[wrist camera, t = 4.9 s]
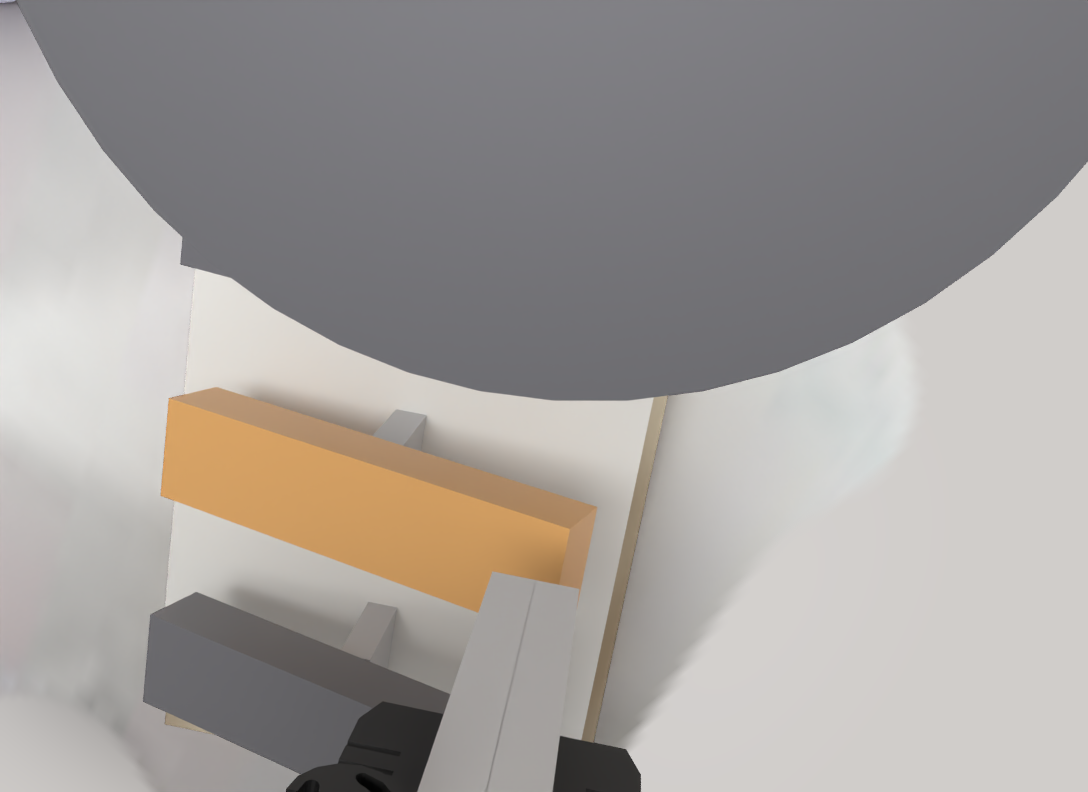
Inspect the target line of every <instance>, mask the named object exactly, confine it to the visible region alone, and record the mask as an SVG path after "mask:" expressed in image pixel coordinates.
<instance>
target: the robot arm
mask: <svg viewBox="0 0 1088 792" xmlns="http://www.w3.org/2000/svg"><path fill="white" fill-rule="evenodd" d="M578 595H579V589H577V588H572V587H567V586H562V585H557V584H552V583H547V582H542V581H538V580H533V579H528V578H523V577H518V576H513V575H508V574H503V573H498V572H493V571H492V574H491V577H490V580H489V583H488V586H487V589H486V592H485V595H484V598H483V601H482V603H481V606H480V609H479V612H478V615H477V618H476V621H475V624H474V627H473V630H472V633H471V636H470V639H469V642H468V645H467V647H466V650H465V653H464V656H463V659H462V662H461V665H460V668H459V671H458V674H457V677H456V680H455V683H454V686H453V688H452V691H451V694H450V697H449V700H448V703H447V706H446V709H445V712H444V714H441V713H436V712H431V711H427V710H422V709H417V708H412V707H408V706H403V705H398V704H393V703H388V702H384V701H382V702H381V703H380V704H378V705H377V706H375V707H374V708H372V709H371V710H370V711H368V712H367V713H365V714H364V715H363V716H361V717H360V718H359V719H358V721H357V723H356V725H355V727H354V729H353V731H352V733H351V735H350V737H349V739H348V742H347V745H346V746H345V748H344V750H343V752H342V754H341V756H340V758H339V761H338V764H332V765H326V766H319V767H316V768H313V769H311V770H309V771H307V772H305V773H303V774H301V775H299V776H298V777H297V778H296V779H295V780H294V781H293V782H292V783H291V784H290V785H289V786H288V788H287V789H286V792H641V774H640V773H639V771H638V769H637V768H636V766H635V764H634V762H633V761H632V759H631V757H630V755H629V754H628V752H627V750H626V749H621V748H616V747H611V746H607V745H602V744H597V743H592V742H588V741H583V740H578V739H573V738H568V737H564V736H560V731H561V724H562V716H563V709H564V701H565V693H566V686H567V678H568V671H569V663H570V656H571V648H572V641H573V633H574V625H575V618H576V610H577V603H578Z"/></svg>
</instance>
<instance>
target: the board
mask: <svg viewBox="0 0 1088 792" xmlns="http://www.w3.org/2000/svg"><path fill="white" fill-rule="evenodd" d="M667 397H668V396H661V397H654V398H653V403H652V408H651V413H650V417H649V422H648V427H647V432H646V436H645V441H644V446H643V450H642V455H641V460H640V465H639V469H638V474H637V479H636V484H635V488H634V493H633V498H632V503H631V507H630V512H629V517H628V521H627V526H626V531H625V536H624V540H623V545H622V550H621V555H620V559H619V564H618V569H617V574H616V578H615V583H614V588H613V593H612V597H611V602H610V607H609V611H608V616H607V621H606V626H605V630H604V635H603V640H602V645H601V649H600V654H599V659H598V664H597V668H596V673H595V678H594V682H593V687H592V692H591V697H590V701H589V706H588V711H587V716H586V720H585V725H584V730H583V735H582V739H581V740H583V741H588V742H592V743H593V742H594V737H595V733H596V728H597V723H598V719H599V714H600V709H601V705H602V700H603V695H604V691H605V686H606V681H607V677H608V672H609V668H610V663H611V658H612V654H613V649H614V644H615V640H616V635H617V630H618V626H619V621H620V616H621V612H622V607H623V602H624V598H625V593H626V588H627V584H628V579H629V574H630V570H631V565H632V560H633V556H634V551H635V546H636V542H637V537H638V533H639V528H640V523H641V519H642V514H643V509H644V505H645V500H646V495H647V491H648V486H649V481H650V477H651V472H652V467H653V463H654V458H655V453H656V449H657V444H658V439H659V435H660V430H661V425H662V421H663V416H664V411H665V407H666V402H667ZM165 724H166V725H171V726H176V727H180V728H185V729H190V730H195V731H200V732H204V733H209V734H213V733H211V732H208V731H206V730H204V729H202V728H200V727H197V726H195V725H193V724H191V723H189V722H187V721H184V720H182V719H180V718H178V717H176V716H174V715H171V714H169V713H167V712H166V716H165ZM214 735H215V734H214Z"/></svg>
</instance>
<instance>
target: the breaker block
mask: <svg viewBox="0 0 1088 792" xmlns="http://www.w3.org/2000/svg"><path fill="white" fill-rule="evenodd" d="M214 387H219V388H222V389H225V390H228V391H231V392H234V393H238V394H241V395H244V396H247V397H250V398H253V399H257V400H260V401H263V402H266V403H269V404H273V405H276V406H279V407H282V408H285V409H288V410H292V411H295V412H298V413H301V414H304V415H307V416H311V417H314V418H317V419H320V420H323V421H326V422H330V423H333V424H336V425H339V426H342V427H345V428H349V429H352V430H355V431H358V432H361V433H364V434H368V435H371V436H374V437H377V438H380V439H384V440H387V441H390V442H393V443H396V444H399V445H403V446H406V447H409V448H412V449H415V450H418V451H422V452H425V453H428V454H431V455H434V456H437V457H441V458H444V459H447V460H450V461H453V462H456V463H460V464H463V465H466V466H469V467H472V468H476V469H479V470H482V471H485V472H488V473H491V474H495V475H498V476H501V477H504V478H507V479H510V480H514V481H517V482H520V483H523V484H526V485H529V486H533V487H536V488H539V489H542V490H545V491H548V492H552V493H555V494H558V495H561V496H564V497H567V498H571V499H574V500H577V501H580V502H583V503H587V504H590V505H593V506H596V507H597V512H596V517H595V522H594V527H593V532H592V537H591V542H590V547H589V552H588V557H587V562H586V567H585V571H584V576H583V581H582V586H581V591H580V596H579V601H578V606H577V610H576V618H575V625H574V633H573V641H572V648H571V656H570V663H569V671H568V678H567V686H566V693H565V701H564V709H563V716H562V724H561V731H560V736H564V737H568V738H573V739H578V740H581V739H582V735H583V730H584V725H585V720H586V716H587V711H588V706H589V701H590V697H591V692H592V687H593V682H594V678H595V673H596V668H597V664H598V659H599V654H600V649H601V645H602V640H603V635H604V630H605V626H606V621H607V616H608V611H609V607H610V602H611V597H612V593H613V588H614V583H615V578H616V574H617V569H618V564H619V559H620V555H621V550H622V545H623V540H624V536H625V531H626V526H627V521H628V517H629V512H630V507H631V503H632V498H633V493H634V488H635V484H636V479H637V474H638V469H639V465H640V460H641V455H642V450H643V446H644V441H645V436H646V432H647V427H648V422H649V417H650V413H651V408H652V403H653V398H654V397H653V398H645V399H637V400H629V401H552V400H545V399H537V398H529V397H521V396H514V395H506V394H498V393H490V392H482V391H477V390H473V389H469V388H466V387H462V386H458V385H454V384H450V383H446V382H442V381H439V380H435V379H431V378H427V377H423V376H419V375H416V374H412V373H408V372H405V371H403V370H400V369H398V368H395V367H393V366H390V365H388V364H385V363H383V362H380V361H378V360H375V359H373V358H370V357H368V356H365V355H363V354H360V353H358V352H355V351H353V350H350V349H348V348H345V347H343V346H340V345H338V344H336V343H335V342H333V341H331V340H329V339H327V338H325V337H324V336H322V335H320V334H318V333H316V332H315V331H313V330H311V329H309V328H307V327H306V326H304V325H302V324H300V323H298V322H297V321H295V320H293V319H291V318H289V317H288V316H286V315H284V314H282V313H280V312H278V311H277V310H275V309H273V308H272V307H270V306H269V305H268V304H266V303H265V302H263V301H262V300H261V299H259V298H258V297H257V296H255V295H254V294H252V293H251V292H250V291H248V290H247V289H246V288H244V287H243V286H241V285H240V284H239V283H237V282H236V281H235V280H233V279H232V278H229V277H225V276H222V275H218V274H214V273H211V272H207V271H203V270H199V269H196V268H195V272H194V283H193V295H192V306H191V317H190V328H189V340H188V351H187V362H186V373H185V385H184V394H188V393H193V392H197V391H201V390H205V389H209V388H214ZM195 592H198V593H201V594H203V595H206V596H208V597H211V598H213V599H216V600H218V601H221V602H223V603H226V604H228V605H231V606H233V607H235V608H238V609H240V610H243V611H245V612H248V613H250V614H253V615H255V616H258V617H260V618H263V619H265V620H268V621H270V622H273V623H275V624H278V625H280V626H283V627H285V628H288V629H290V630H292V631H295V632H297V633H300V634H302V635H305V636H307V637H310V638H312V639H315V640H317V641H320V642H322V643H325V644H327V645H330V646H332V647H335V648H337V649H340V650H342V651H344V652H347V653H349V654H352V655H354V656H357V657H359V658H362V659H364V660H367V661H369V662H372V663H374V664H377V665H379V666H382V667H384V668H387V669H389V670H392V671H394V672H397V673H399V674H401V675H404V676H406V677H409V678H411V679H414V680H416V681H419V682H421V683H424V684H426V685H429V686H431V687H434V688H436V689H439V690H441V691H444V692H446V693H449V694H451V691H452V688H453V686H454V683H455V680H456V677H457V674H458V671H459V668H460V665H461V662H462V659H463V656H464V653H465V650H466V647H467V645H468V642H469V639H470V636H471V633H472V630H473V627H474V624H475V621H476V618H477V615H478V613H477V612H475V611H472V610H469V609H466V608H464V607H461V606H458V605H456V604H453V603H450V602H448V601H445V600H442V599H439V598H437V597H434V596H431V595H429V594H426V593H423V592H420V591H418V590H415V589H412V588H410V587H407V586H404V585H401V584H399V583H396V582H393V581H391V580H388V579H385V578H382V577H380V576H377V575H374V574H372V573H369V572H366V571H363V570H361V569H358V568H355V567H353V566H350V565H347V564H345V563H342V562H339V561H336V560H334V559H331V558H328V557H326V556H323V555H320V554H317V553H315V552H312V551H309V550H307V549H304V548H301V547H298V546H296V545H293V544H290V543H288V542H285V541H282V540H279V539H277V538H274V537H271V536H269V535H266V534H263V533H260V532H258V531H255V530H252V529H250V528H247V527H244V526H242V525H239V524H236V523H233V522H231V521H228V520H225V519H223V518H220V517H217V516H214V515H212V514H209V513H206V512H204V511H201V510H198V509H195V508H193V507H190V506H187V505H185V504H182V503H179V502H176V501H174V508H173V520H172V531H171V542H170V553H169V565H168V576H167V587H166V598H165V607H167V606H169V605H171V604H173V603H175V602H177V601H179V600H181V599H183V598H185V597H187V596H189V595H191V594H193V593H195Z"/></svg>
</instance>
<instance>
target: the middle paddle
mask: <svg viewBox="0 0 1088 792" xmlns="http://www.w3.org/2000/svg"><path fill="white" fill-rule="evenodd" d="M161 496H163V497H166V498H168V499H171V500H174V501H176V502H179V503H182V504H185V505H187V506H190V507H193V508H195V509H198V510H201V511H204V512H206V513H209V514H212V515H214V516H217V517H220V518H223V519H225V520H228V521H231V522H233V523H236V524H239V525H242V526H244V527H247V528H250V529H252V530H255V531H258V532H260V533H263V534H266V535H269V536H271V537H274V538H277V539H279V540H282V541H285V542H288V543H290V544H293V545H296V546H298V547H301V548H304V549H307V550H309V551H312V552H315V553H317V554H320V555H323V556H326V557H328V558H331V559H334V560H336V561H339V562H342V563H345V564H347V565H350V566H353V567H355V568H358V569H361V570H363V571H366V572H369V573H372V574H374V575H377V576H380V577H382V578H385V579H388V580H391V581H393V582H396V583H399V584H401V585H404V586H407V587H410V588H412V589H415V590H418V591H420V592H423V593H426V594H429V595H431V596H434V597H437V598H439V599H442V600H445V601H448V602H450V603H453V604H456V605H458V606H461V607H464V608H466V609H469V610H472V611H475V612H477V613H478V612H479V609H480V606H481V603H482V601H483V598H484V595H485V592H486V589H487V586H488V583H489V580H490V577H491V574H492V571H493V572H498V573H503V574H508V575H513V576H518V577H523V578H528V579H533V580H538V581H542V582H547V583H552V584H557V585H562V586H567V587H572V588H577V589H579V595H578V601H579V596H580V591H581V586H582V581H583V576H584V571H585V567H586V562H587V557H588V552H589V547H590V542H591V537H592V532H593V527H594V522H595V517H596V512H597V507H596V506H593V505H590V504H587V503H583V502H580V501H577V500H574V499H571V498H567V497H564V496H561V495H558V494H555V493H552V492H548V491H545V490H542V489H539V488H536V487H533V486H529V485H526V484H523V483H520V482H517V481H514V480H510V479H507V478H504V477H501V476H498V475H495V474H491V473H488V472H485V471H482V470H479V469H476V468H472V467H469V466H466V465H463V464H460V463H456V462H453V461H450V460H447V459H444V458H441V457H437V456H434V455H431V454H428V453H425V452H422V451H418V450H415V449H412V448H409V447H406V446H403V445H399V444H396V443H393V442H390V441H387V440H384V439H380V438H377V437H374V436H371V435H368V434H364V433H361V432H358V431H355V430H352V429H349V428H345V427H342V426H339V425H336V424H333V423H330V422H326V421H323V420H320V419H317V418H314V417H311V416H307V415H304V414H301V413H298V412H295V411H292V410H288V409H285V408H282V407H279V406H276V405H273V404H269V403H266V402H263V401H260V400H257V399H253V398H250V397H247V396H244V395H241V394H238V393H234V392H231V391H228V390H225V389H222V388H219V387H214V388H209V389H205V390H201V391H197V392H193V393H188V394H184V395H180V396H176V397H172V398H169V404H168V415H167V427H166V439H165V451H164V462H163V474H162V486H161ZM577 606H578V603H577Z"/></svg>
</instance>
